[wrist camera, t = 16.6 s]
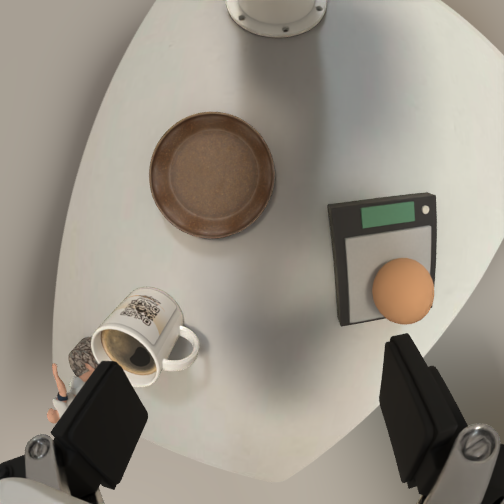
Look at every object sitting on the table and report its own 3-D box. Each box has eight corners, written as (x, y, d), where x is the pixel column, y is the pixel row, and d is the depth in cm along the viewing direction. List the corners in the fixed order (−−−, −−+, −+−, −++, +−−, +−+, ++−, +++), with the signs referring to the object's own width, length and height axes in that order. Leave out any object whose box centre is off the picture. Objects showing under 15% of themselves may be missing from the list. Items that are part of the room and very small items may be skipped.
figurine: (77, 318, 44) (18, 379, 27) (118, 335, 44) (64, 408, 28) (83, 372, 49) (40, 431, 32) (119, 389, 49) (81, 454, 33)
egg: (404, 237, 32) (436, 262, 24) (424, 282, 34) (453, 314, 26) (355, 269, 34) (375, 303, 26) (378, 312, 35) (399, 351, 27)
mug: (153, 270, 40) (117, 309, 29) (210, 330, 42) (192, 381, 32) (114, 307, 43) (79, 346, 32) (166, 359, 45) (143, 405, 35)
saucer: (211, 91, 31) (206, 86, 29) (300, 173, 34) (302, 175, 31) (136, 178, 36) (127, 180, 33) (217, 255, 38) (212, 262, 36)
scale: (327, 204, 35) (331, 209, 32) (427, 192, 33) (438, 196, 30) (337, 317, 40) (341, 329, 37) (425, 299, 38) (433, 310, 35)
